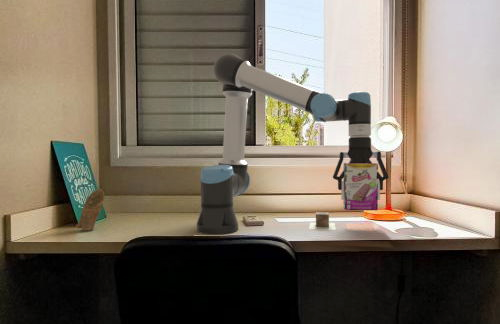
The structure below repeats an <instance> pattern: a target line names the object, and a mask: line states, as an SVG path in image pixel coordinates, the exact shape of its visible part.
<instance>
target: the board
mask: <svg viewBox="0 0 500 324" xmlns="http://www.w3.org/2000/svg"><path fill="white" fill-rule="evenodd" d="M345 226H346V229H347V231H357V232H358V231H361V232H362V231H365V232H367V231H369V232H370V231H371V232H376V231H377V230H376V229H375V228H374V226H373V225H372V223H349V222H348V223H345ZM308 229H309V230H324V231H325V230H327V231H329V230H330V231H331V230H333V231H336V230H337V228H336V223H335V222H329V227H316V222H309V226H308Z"/></svg>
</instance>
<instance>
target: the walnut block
mask: <svg viewBox="0 0 500 324" xmlns="http://www.w3.org/2000/svg"><path fill="white" fill-rule="evenodd" d="M315 223H316V227H329V223H330V213H329V212H322V211H320V212H319V211H318V212H317V211H316V212H315Z"/></svg>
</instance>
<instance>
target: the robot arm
mask: <svg viewBox="0 0 500 324" xmlns="http://www.w3.org/2000/svg"><path fill="white" fill-rule="evenodd" d="M213 75H214V77H215V78H216V80H217V81H218V82H219V83H221V84H222V94H223V96H224V97H225V109H224V125H223V126H224V127H223V128H224V129H223V130H224V131H223V143H222V146H223V147H222V158H221V159H220V160H219V161H218V164H213V165H208V166H207V165H206V166H205V167H203V168H202V169H200V170H201V171H200V177H199V179H200V207H201V208H200V211H199V214H198V215H199V216H198V219H197V222H196V232H198V233H200V232H202V234H207V233H210V234H211V235H214V234H215V235H219V234H220V235H221V234H230V233H234V232H237V231H238V230H239V223H238V218H237V216H236V215H237V214H236V213H235V210H234V198H235V197H239V196H241V195H243V194H244V193H246V191H247V190H248V189H249V188H250V186H251V176H250V173H249V171H248V165H249V164H248V163H247V161H246V159H245V150H246V136H247V135H246V133H247V119H248V118H247V115H248V101H249V99H250V97H252V95H253V91H254V92H256V93H259V94H262V95H264V96H266V97H269V98H272V99H274V100H277V101H279V102H282V103H284V104H286V105H288V106H291V107H294V108H296V109H299V110H302V111H304V112H306V113H309V114H311V115H313V119H314V121H315V122H317V123H319V122H322V123H327V122H340V121H345V122H346V121H348V137H349V138H348V151H347V152H345V151H344V152H342V151H340V152H339V160H338V161H337V165H336V167H335V170H334V173H333V175H332V178H333V180H336V181H337V186H338V187H337V189H338V191H341V196H340V199H341V201H343V200H344V179H343V178H344V176H345V170H344V169H343V170H342V172H341V173H340V175H339V172H340V169H341V166H342V164H343V162H344V159H345V158H346V157H347V156H348V158H349V162H348V163H373V162H372V161H371V160H370V159H371V158H372V156H374V158H376V161H377V164H378V167H379V169H380V171H381V173H382V175H381V174H380V172H379V171H378V201H380V200H381V191H383V190H384V181H385V180H389V174H388V171H387V169H386V167H385V164H384V162H383V159H382V153H381V151H372V138H371V136H372V125H371V124H372V116H371V115H372V102H371V101H372V100H371V94H370V93H369V92H367V91H354V92H350V93H348V96H347V98H345V99H335V98H334V97H333V96H332V95H331V94H329V93H326V92H320V91H317V90H315V89H313V88H310V87H308V86H306V85H302V84H299V83H297V82H295V81H292V80H290V79H288V78H284V77H282V76H279V75H276V74H274V73H271V72H269V71H266V70H264V69H260V68H259V67H255V66H253V65H252V64H251V63H250V62H249V60H246V59H243V58H241V57H240V56H239V55H237V54H236V53H235V54H234V53H223V54H221V55H220V56H219V57H217V59H216V60H215V61H214V65H213ZM338 175H339V176H338ZM210 234H209V235H210Z"/></svg>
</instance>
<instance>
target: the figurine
mask: <svg viewBox="0 0 500 324" xmlns="http://www.w3.org/2000/svg"><path fill="white" fill-rule="evenodd" d="M104 201H105V192H104V190H103V189H102V188H97V189H95V190H94V191H92V192H91V193H90V194H89V196H87V198H86V200H85V201H84V204H83V208H82V210H81V215H80V218H79V220H78V223H77V224H76V226H75V228H76V229H81V230H83V231H94V230H93V229H95V225H96V221H97V219H98V217H99V215H100V213H101V210H102V207H103V205H104Z"/></svg>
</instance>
